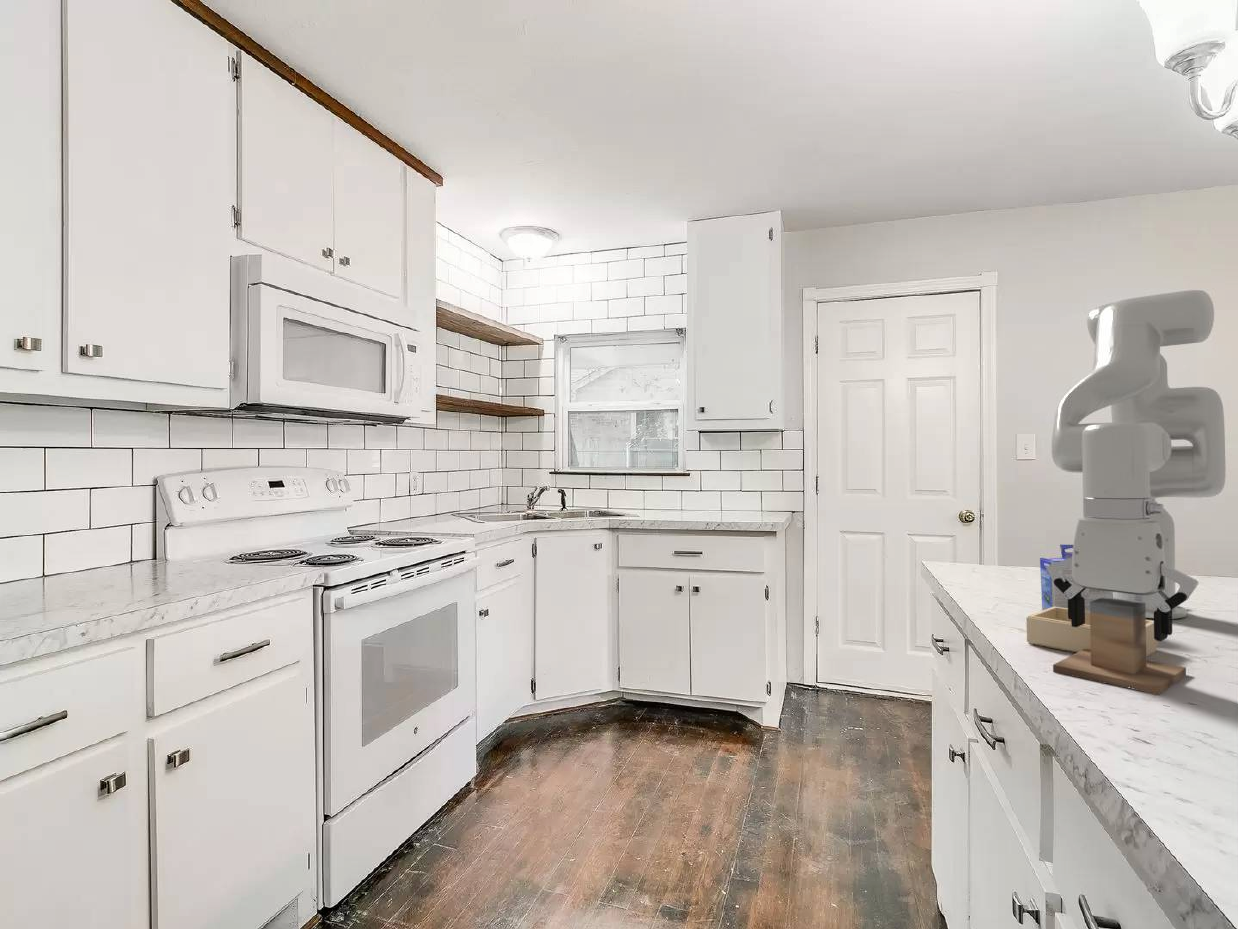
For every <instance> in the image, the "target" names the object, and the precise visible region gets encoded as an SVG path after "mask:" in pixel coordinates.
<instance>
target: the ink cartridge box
mask: <svg viewBox="0 0 1238 929" xmlns="http://www.w3.org/2000/svg"><path fill="white" fill-rule="evenodd" d="M1059 547H1060V548H1059V549H1060V552H1061V557H1040V558H1039V567H1040V583H1041V584H1040V589H1041V611H1043V610H1046V609H1048V608H1051V607H1061V608H1068V599H1067V598H1065V597H1064V594H1063V593H1062V592H1061V591H1060V590H1059V589H1058V588H1057V587H1056V586H1055V585H1054V581H1053V579H1052V578H1051V576H1050V575H1049V573H1048V571H1047V569H1046V568H1047V566H1049V565H1052V564H1054V563H1057V562H1060V561H1063V560H1066V559H1068V558H1071V557H1072V554H1073V551H1072V552H1070V551H1068V552H1067V551H1066V550H1070V549H1073V544H1059ZM1062 574H1063V577H1064V578H1065V579H1066V580H1067V581H1068V582H1069V583H1070V584H1071V585H1073V584H1074V582H1073V579H1072V567H1069V568H1067V569H1064V570H1062ZM1081 597H1083V598H1084V599H1085V611H1089V612H1090V602H1091V601H1093V600H1096V599H1099V598H1101V597H1109V598H1113V592H1111V591H1103V590H1095V589H1088V588H1087V589H1086V590H1085V591H1084V592H1082V593H1081Z"/></svg>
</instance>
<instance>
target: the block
mask: <svg viewBox="0 0 1238 929" xmlns="http://www.w3.org/2000/svg"><path fill="white" fill-rule="evenodd" d="M1146 620H1147V618H1146V607H1145V602H1139V601H1132V600H1124V599H1116V598H1109V597H1101V598H1099V599H1096V600H1093V601H1091V602H1090V640H1091V665H1092V666H1097V667H1102V668H1107V669H1112V670H1117V671H1122V672H1127V673H1131V674H1135V673H1137V672H1138V671H1140V670H1142V669H1143V668H1145V667H1146V660H1147V657H1146Z"/></svg>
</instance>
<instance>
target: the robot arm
mask: <svg viewBox="0 0 1238 929" xmlns="http://www.w3.org/2000/svg"><path fill="white" fill-rule="evenodd" d="M1086 320H1087V321H1086V322H1087V323H1086V325H1087V331H1088V333H1089V336H1090V338H1091V340H1092V342H1093V344H1094V345H1095V346H1094V355H1093V366H1092V369H1093V370H1092V372H1091V373H1089V374H1088V375H1086V376H1085V377H1083V378H1082V379H1081V380H1079V382H1077V383H1076V384H1075V385H1074V386H1073V387H1072V388H1070V390H1069V391H1068V392H1067V393H1066V394H1065V395H1064V397H1063V398H1062V399H1061V401H1060V402H1059V404H1058V406H1057V407H1056V408H1057V409H1056V411H1055V413H1054V414H1055V415H1054V420H1053V429H1052V435H1051V436H1052V437H1051V456H1052V460H1053V462H1054V464H1055V466H1056V467H1057V468H1058V469H1060V470H1061V471H1064V472H1066V473H1075V474H1077V473H1080V474H1082V509H1083V510H1082V511H1083V512H1082V513H1083V516H1082V517H1081V518H1078V520H1077V522H1076V523H1077V524H1076V528H1075V533H1074V538H1073V544H1072V545H1073V548H1072V552H1073V554H1072V557H1071V558H1068V559H1066V560H1063V561H1060V562H1057V563H1054V564H1052V565H1049V566H1047V568H1046V569H1047V571H1048V573H1049V575H1050V576H1051V578H1052V579H1053V581H1054V585H1055V586H1056V587H1057V588H1058V589H1059V590H1060V591H1061V592H1062V593H1063V594H1064V597H1065V598H1067V599H1068V618H1069V619H1071V625H1072V627H1079V626H1081V625H1083V624H1085V599H1084V598H1083V597H1081V593H1082V592H1084V591H1085V590H1086V589H1087V588H1088V589H1095V590H1103V591H1111V592H1113V598H1116V599H1124V600H1132V601H1139V602H1145V607H1146V619H1153V621H1154V639H1156V641H1158V642H1163V641H1165V640H1166V639H1167V638H1168V636H1171V635H1172V634H1173V620H1174V619H1175V620H1177V619H1182V618H1185V617H1187V615H1188V614H1187V609H1186V608H1184V607H1183V606H1180V605H1181V604H1183V603H1185V602H1186V601H1187V600H1189V598H1190V596H1191V595H1192V594H1193V593H1194V591H1195V590H1196V588H1197V587H1198V585H1199V581H1198V580H1197V579H1196V578H1193V577H1192V576H1189V575H1187V574H1186V573H1183V572H1181V571H1180V570H1177V569H1176V546H1175V544H1176V543H1175V537H1176V536H1175V534H1176V533H1175V531H1176V530H1175V522H1174V520H1173V517H1172V515H1171V514H1170V513H1169V511H1167V509H1165V508H1164V504H1163V503H1158V502H1157V500H1156V499H1159V498H1189V499H1191V498H1193V499H1194V498H1195V499H1196V498H1197V499H1199V498H1212V497H1216V496H1218V495H1219V494H1220V493H1222V491H1223V490H1224V487H1225V484H1226V443H1225V442H1226V440H1225V439H1226V438H1225V436H1226V435H1225V431H1226V429H1225V415H1224V414H1225V411H1224V406H1223V402H1222V398H1221V396H1220V394H1219V392H1217V391H1216V390H1215V389H1212V388H1210V387H1206V386H1187V387H1186V386H1185V387H1174V388H1173V387H1170V386H1169V383H1168V381H1169V380H1168V362H1167V360H1166V358H1165V357H1164V356H1163V355H1162V353H1161V347H1169V346H1170V347H1171V346H1181V345H1188V344H1198V343H1200V344H1201V343H1203V342H1205V341H1206V340H1207V339H1208V338H1209V337H1210V336H1211V333H1212V330H1213V328H1214V326H1213V325H1214V322H1215V309H1214V304H1213V300H1212V298H1211V296H1210V294H1208V293H1207V292H1206V291H1205V290H1199V289H1191V290H1182V291H1181V290H1179V291H1173V292H1168V293H1167V292H1166V293H1161V294H1160V293H1159V294H1153V295H1146V296H1145V295H1144V296H1138V297H1132V298H1131V297H1130V298H1127V299H1122V300H1119V301H1115V302H1109V303H1106V304H1102V305H1099V306H1097V307H1096V308H1094V309H1092V310H1091V311H1090V312H1089V314H1088V316H1087V319H1086ZM1107 407H1110V409H1111V410H1110V413H1111V422H1092V423H1091V422H1090V423H1089V422H1088V423H1081V421H1083V420H1084V419H1085V418H1086V417H1088V416H1090V415H1091V414H1093V413H1096V412H1097V411H1099V410H1101V409H1105V408H1107ZM1176 440H1177V441H1179V440H1181V441H1182V440H1183V441H1184V440H1185V441H1188V442H1189V443H1190V444H1191V445H1186V446H1185V445H1178V446H1177V445H1176V446H1172V441H1176ZM1069 567H1072V579H1073V582H1074V584H1073V585H1071V584H1070V583H1069V582H1068V581H1067V580H1066V579H1065V578H1064V577H1063V574H1062V570H1064V569H1067V568H1069ZM1176 583H1177V584H1178V586H1179V588H1178V590H1177V591H1176Z"/></svg>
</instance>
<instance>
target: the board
mask: <svg viewBox="0 0 1238 929" xmlns="http://www.w3.org/2000/svg"><path fill="white" fill-rule="evenodd" d="M1186 667H1187V666H1179V665H1175V664H1169V663H1164V662H1157V661H1154V660H1148V659H1146V667H1145V668H1143V669H1142V670H1140V671H1138V672H1137V673H1135V674H1131V673H1127V672H1122V671H1117V670H1112V669H1107V668H1102V667H1097V666H1092V665H1091V650H1088V649H1083V650H1081V651H1079V652H1077V653H1075V652H1074V653H1073V654H1071V655H1070V656H1068V657H1066V658H1063V659H1062V660H1060V661H1058V662H1056V663H1054V664H1052V668H1053V669H1052V672H1053V673H1058V674H1063V675H1066V676H1070V675H1074V676H1073V677H1075V676H1078V677H1077V678H1080V677H1082V678H1081V679H1084V678H1086V680H1089V679H1090V680H1089V681H1093V682H1094V681H1095V682H1098V681H1101V682H1100V683H1102V682H1105V683H1104V684H1107V683H1109V685H1112V684H1113V686H1116V685H1118V686H1117V687H1121V686H1123V687H1122V688H1125V687H1130V688H1134V689H1137V690H1136V691H1139V690H1141V691H1140V692H1144V693H1149V694H1153V693H1155V694H1154V695H1157V694H1159V695H1160V693H1161V694H1162V693H1164V691H1166V690H1168V689H1169V688H1170V687H1171V686H1173V685H1174V684H1176V683H1177V682H1178V681H1180V680H1181V679H1182V678H1184V677H1185V676H1186V675H1187V668H1186ZM1130 688H1129V689H1130ZM1134 689H1133V690H1134Z"/></svg>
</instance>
